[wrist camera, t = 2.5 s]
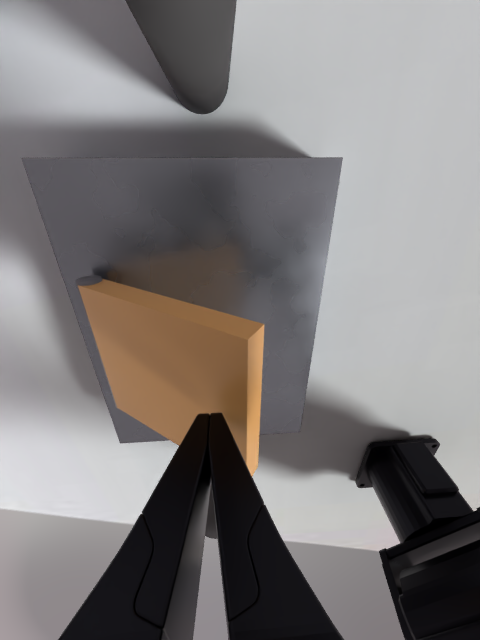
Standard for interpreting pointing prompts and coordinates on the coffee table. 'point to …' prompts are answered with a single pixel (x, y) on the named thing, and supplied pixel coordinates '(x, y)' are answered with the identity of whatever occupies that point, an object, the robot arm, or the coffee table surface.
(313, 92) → the coffee table surface
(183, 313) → the orange flat block
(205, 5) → the post
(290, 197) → the grey flat block
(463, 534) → the robot arm
